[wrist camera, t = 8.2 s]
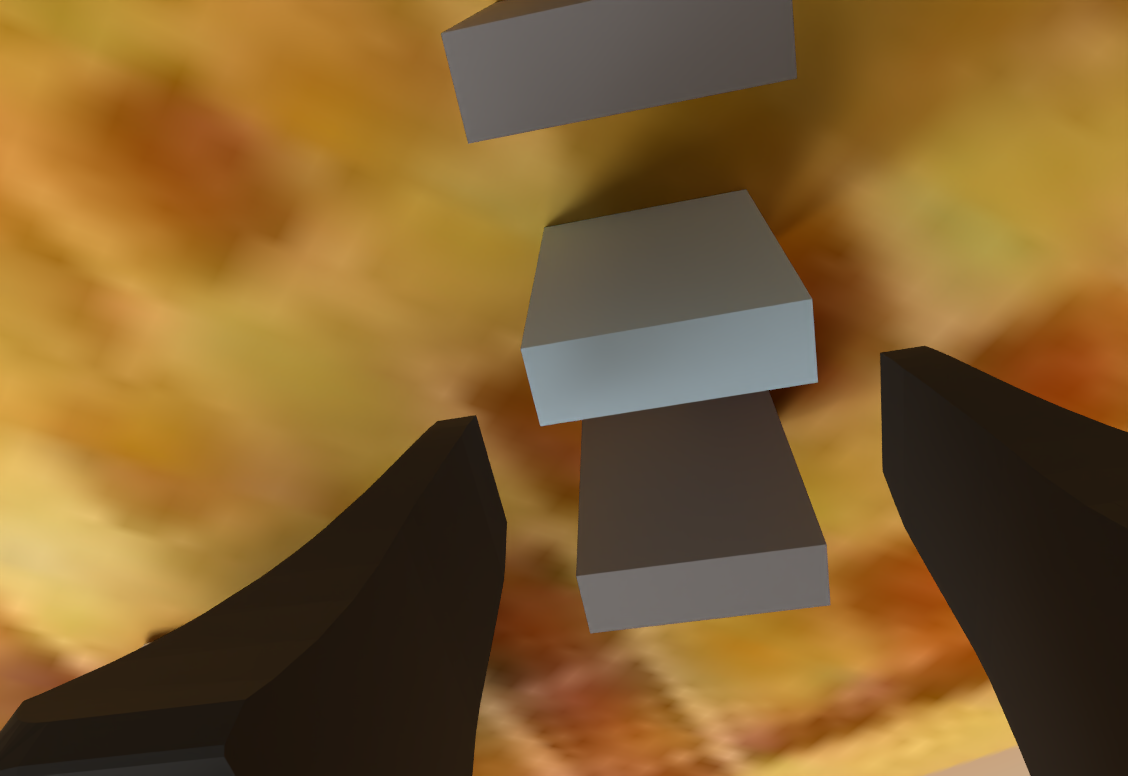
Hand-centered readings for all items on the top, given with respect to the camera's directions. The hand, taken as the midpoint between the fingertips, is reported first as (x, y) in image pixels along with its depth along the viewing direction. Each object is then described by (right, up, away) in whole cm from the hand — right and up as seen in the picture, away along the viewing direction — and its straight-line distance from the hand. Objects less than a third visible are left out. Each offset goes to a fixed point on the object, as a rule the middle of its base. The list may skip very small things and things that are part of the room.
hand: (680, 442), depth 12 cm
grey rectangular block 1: (-1, +9, +6) cm, 11 cm away
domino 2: (0, +5, +8) cm, 9 cm away
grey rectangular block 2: (+1, 0, +11) cm, 11 cm away
